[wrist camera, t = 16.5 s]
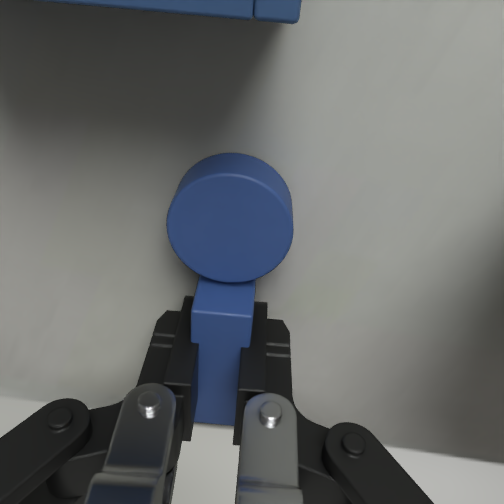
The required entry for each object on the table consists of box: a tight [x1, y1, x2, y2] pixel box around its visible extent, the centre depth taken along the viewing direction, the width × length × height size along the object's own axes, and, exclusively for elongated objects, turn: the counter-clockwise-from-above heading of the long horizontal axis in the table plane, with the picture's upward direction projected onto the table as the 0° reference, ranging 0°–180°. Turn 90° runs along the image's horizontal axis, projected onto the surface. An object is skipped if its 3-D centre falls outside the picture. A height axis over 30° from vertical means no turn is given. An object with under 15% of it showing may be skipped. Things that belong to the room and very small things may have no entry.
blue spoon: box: [166, 153, 293, 426], centre depth 13 cm, size 8×3×2 cm, turn 175°
